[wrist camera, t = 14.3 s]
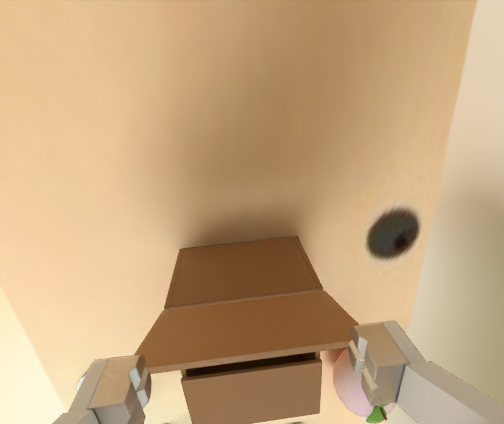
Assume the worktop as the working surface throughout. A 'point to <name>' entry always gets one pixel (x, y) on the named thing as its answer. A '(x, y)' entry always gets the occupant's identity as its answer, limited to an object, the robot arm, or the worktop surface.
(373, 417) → the decorative fruit
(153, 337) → the flap
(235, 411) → the carton
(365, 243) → the worktop surface
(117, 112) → the worktop surface
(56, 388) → the worktop surface
